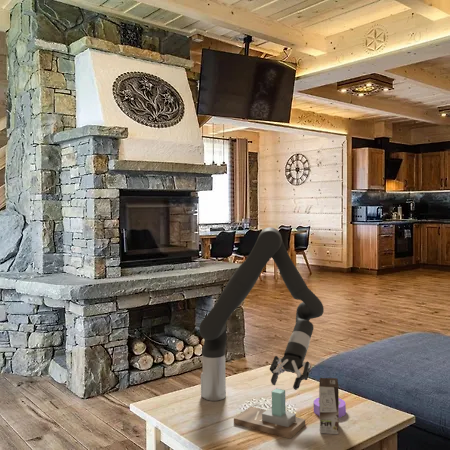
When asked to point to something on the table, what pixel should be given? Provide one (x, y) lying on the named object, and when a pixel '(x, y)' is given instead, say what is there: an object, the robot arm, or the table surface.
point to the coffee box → (329, 405)
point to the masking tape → (341, 407)
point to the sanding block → (278, 410)
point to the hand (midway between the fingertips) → (283, 386)
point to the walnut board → (267, 423)
